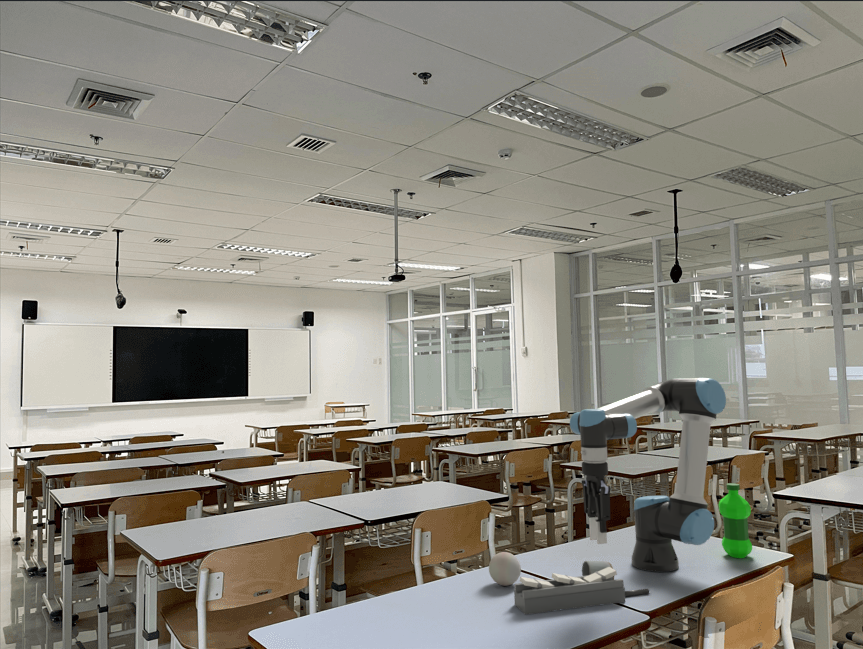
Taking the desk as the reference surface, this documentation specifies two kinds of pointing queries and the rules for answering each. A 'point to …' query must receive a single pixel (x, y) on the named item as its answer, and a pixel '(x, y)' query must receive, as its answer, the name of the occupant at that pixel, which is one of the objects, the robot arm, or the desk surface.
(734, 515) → the plastic bottle
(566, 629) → the desk surface
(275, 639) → the desk surface
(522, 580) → the end rocker
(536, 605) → the power strip
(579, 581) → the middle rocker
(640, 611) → the desk surface
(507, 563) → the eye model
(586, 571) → the ceramic mug
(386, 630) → the desk surface
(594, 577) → the rocker
